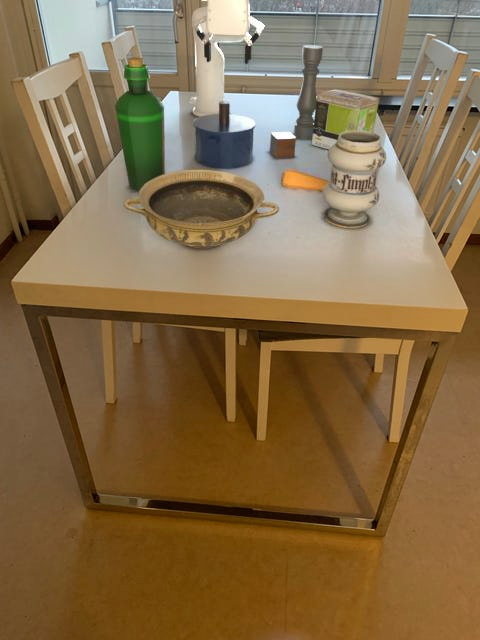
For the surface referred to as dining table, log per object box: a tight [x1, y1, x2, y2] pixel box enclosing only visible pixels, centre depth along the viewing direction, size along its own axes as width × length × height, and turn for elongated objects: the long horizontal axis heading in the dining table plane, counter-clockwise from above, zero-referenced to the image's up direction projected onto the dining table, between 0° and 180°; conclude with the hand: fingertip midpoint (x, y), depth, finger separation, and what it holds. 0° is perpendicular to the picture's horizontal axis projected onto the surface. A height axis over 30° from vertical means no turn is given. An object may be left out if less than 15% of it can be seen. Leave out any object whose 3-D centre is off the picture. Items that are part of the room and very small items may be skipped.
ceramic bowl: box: [123, 169, 280, 249], centre depth 95 cm, size 30×24×10 cm
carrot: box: [280, 168, 330, 192], centre depth 119 cm, size 20×4×4 cm, turn 80°
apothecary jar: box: [322, 130, 387, 229], centre depth 102 cm, size 12×12×18 cm
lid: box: [192, 101, 256, 135], centre depth 128 cm, size 17×17×6 cm
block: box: [269, 131, 297, 160], centre depth 137 cm, size 6×6×6 cm
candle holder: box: [293, 44, 324, 140], centre depth 145 cm, size 6×6×25 cm
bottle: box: [114, 56, 166, 193], centre depth 110 cm, size 11×11×28 cm
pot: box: [194, 127, 255, 169], centre depth 133 cm, size 16×21×9 cm
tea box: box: [311, 88, 380, 150], centre depth 140 cm, size 15×10×15 cm, turn 47°
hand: (227, 62), depth 122 cm, fingers open, 9 cm apart
